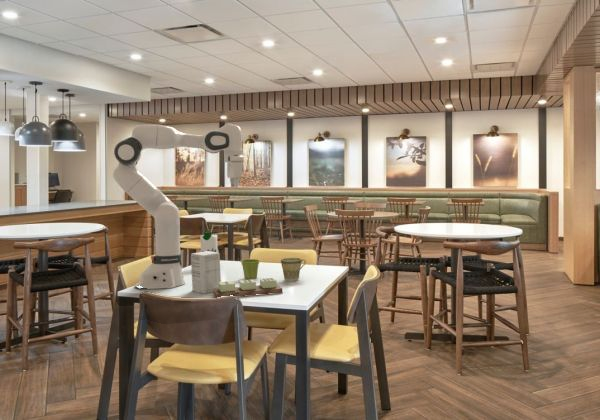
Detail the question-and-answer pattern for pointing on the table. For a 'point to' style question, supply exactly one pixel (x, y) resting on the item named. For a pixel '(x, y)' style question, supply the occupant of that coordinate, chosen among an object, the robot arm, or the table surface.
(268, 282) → the tile three
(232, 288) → the tile one
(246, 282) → the tile two
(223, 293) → the frame
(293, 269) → the ceramic cup
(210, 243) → the milk carton
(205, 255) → the supplement box
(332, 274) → the table surface
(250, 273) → the plant pot
